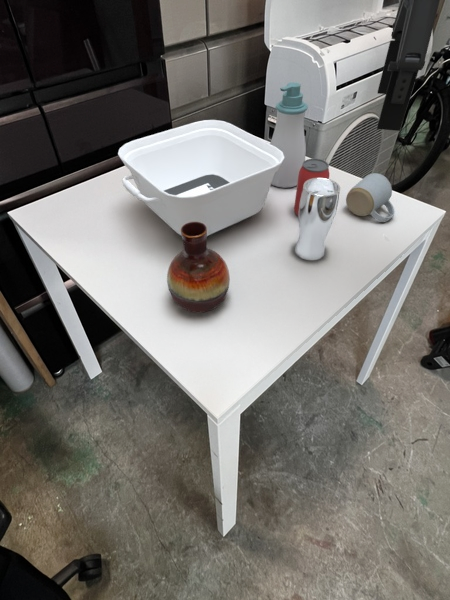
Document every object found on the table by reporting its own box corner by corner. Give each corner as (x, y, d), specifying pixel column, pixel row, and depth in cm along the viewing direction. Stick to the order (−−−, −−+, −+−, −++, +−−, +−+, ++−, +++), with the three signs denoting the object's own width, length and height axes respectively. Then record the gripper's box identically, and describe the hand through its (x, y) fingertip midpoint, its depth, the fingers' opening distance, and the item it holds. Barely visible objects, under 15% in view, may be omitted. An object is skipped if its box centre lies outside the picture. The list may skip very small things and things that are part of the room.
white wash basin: (225, 168, 104) (224, 113, 93) (297, 214, 88) (306, 153, 77) (112, 210, 90) (96, 151, 79) (173, 274, 74) (162, 210, 63)
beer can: (288, 208, 89) (294, 160, 81) (312, 202, 91) (320, 155, 82) (302, 223, 85) (310, 174, 76) (327, 216, 87) (337, 168, 78)
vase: (207, 269, 75) (203, 201, 63) (242, 301, 68) (243, 232, 57) (159, 293, 70) (145, 225, 59) (191, 329, 64) (182, 261, 53)
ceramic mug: (340, 210, 88) (348, 181, 83) (358, 197, 92) (367, 167, 86) (381, 229, 83) (392, 199, 77) (398, 214, 87) (410, 184, 81)
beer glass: (286, 247, 79) (294, 182, 68) (312, 237, 81) (325, 173, 70) (305, 266, 75) (317, 200, 64) (333, 255, 77) (349, 190, 66)
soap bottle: (257, 179, 99) (262, 84, 83) (282, 167, 104) (291, 75, 87) (285, 193, 94) (296, 95, 78) (310, 180, 98) (325, 84, 82)
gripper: (530, -136, 27) (423, 151, 42) (472, -119, 43) (411, 83, 59) (419, -131, 28) (355, 144, 44) (404, -116, 45) (362, 80, 60)
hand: (387, 109), depth 51 cm, fingers open, 13 cm apart
